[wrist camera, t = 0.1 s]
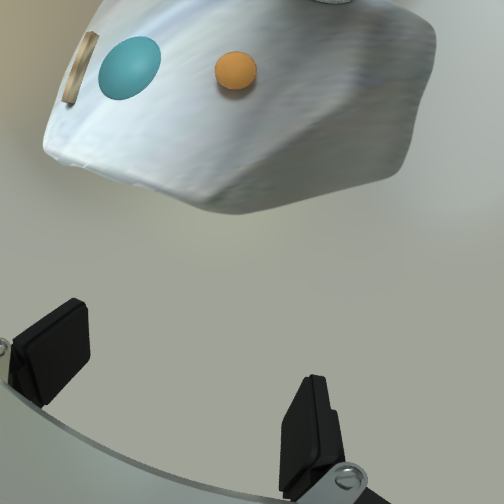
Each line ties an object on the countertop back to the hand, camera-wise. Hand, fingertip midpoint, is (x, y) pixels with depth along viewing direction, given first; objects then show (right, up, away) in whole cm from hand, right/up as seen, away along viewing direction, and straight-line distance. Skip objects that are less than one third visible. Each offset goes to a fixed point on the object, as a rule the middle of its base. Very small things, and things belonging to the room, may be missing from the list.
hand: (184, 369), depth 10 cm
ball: (0, +29, +22) cm, 36 cm away
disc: (-17, +35, +25) cm, 46 cm away
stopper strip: (-28, +38, +25) cm, 53 cm away
